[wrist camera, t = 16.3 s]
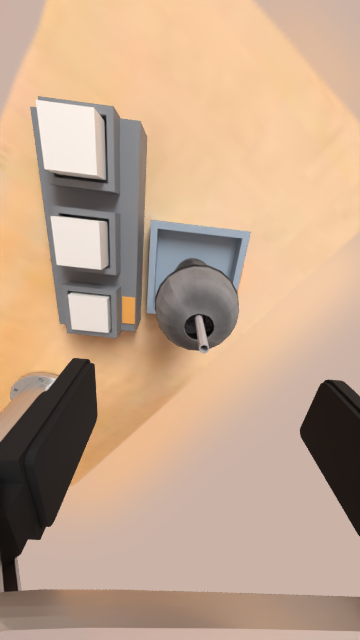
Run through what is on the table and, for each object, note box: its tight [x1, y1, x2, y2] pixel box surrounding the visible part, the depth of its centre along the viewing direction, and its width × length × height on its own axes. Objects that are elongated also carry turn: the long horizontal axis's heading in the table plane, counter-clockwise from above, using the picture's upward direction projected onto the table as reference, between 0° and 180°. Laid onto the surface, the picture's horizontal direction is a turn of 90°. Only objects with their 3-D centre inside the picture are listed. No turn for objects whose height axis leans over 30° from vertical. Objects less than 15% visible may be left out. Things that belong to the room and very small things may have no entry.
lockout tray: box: [147, 220, 251, 314], centre depth 28 cm, size 12×12×2 cm
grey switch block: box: [30, 96, 147, 338], centre depth 24 cm, size 22×10×8 cm, turn 174°
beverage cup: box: [155, 258, 239, 353], centre depth 20 cm, size 7×7×20 cm
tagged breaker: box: [68, 291, 112, 333], centre depth 26 cm, size 4×4×2 cm
